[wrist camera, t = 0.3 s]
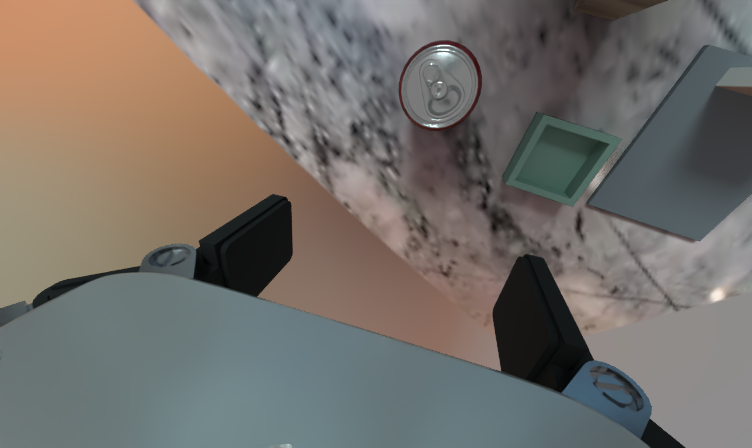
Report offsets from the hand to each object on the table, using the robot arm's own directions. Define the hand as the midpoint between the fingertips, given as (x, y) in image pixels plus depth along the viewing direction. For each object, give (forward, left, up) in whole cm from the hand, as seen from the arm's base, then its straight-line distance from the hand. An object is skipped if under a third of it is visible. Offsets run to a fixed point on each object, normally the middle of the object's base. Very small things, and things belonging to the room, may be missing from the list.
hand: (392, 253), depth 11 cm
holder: (-1, +15, -30) cm, 33 cm away
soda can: (-5, -1, -30) cm, 31 cm away
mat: (-6, +29, -30) cm, 42 cm away
